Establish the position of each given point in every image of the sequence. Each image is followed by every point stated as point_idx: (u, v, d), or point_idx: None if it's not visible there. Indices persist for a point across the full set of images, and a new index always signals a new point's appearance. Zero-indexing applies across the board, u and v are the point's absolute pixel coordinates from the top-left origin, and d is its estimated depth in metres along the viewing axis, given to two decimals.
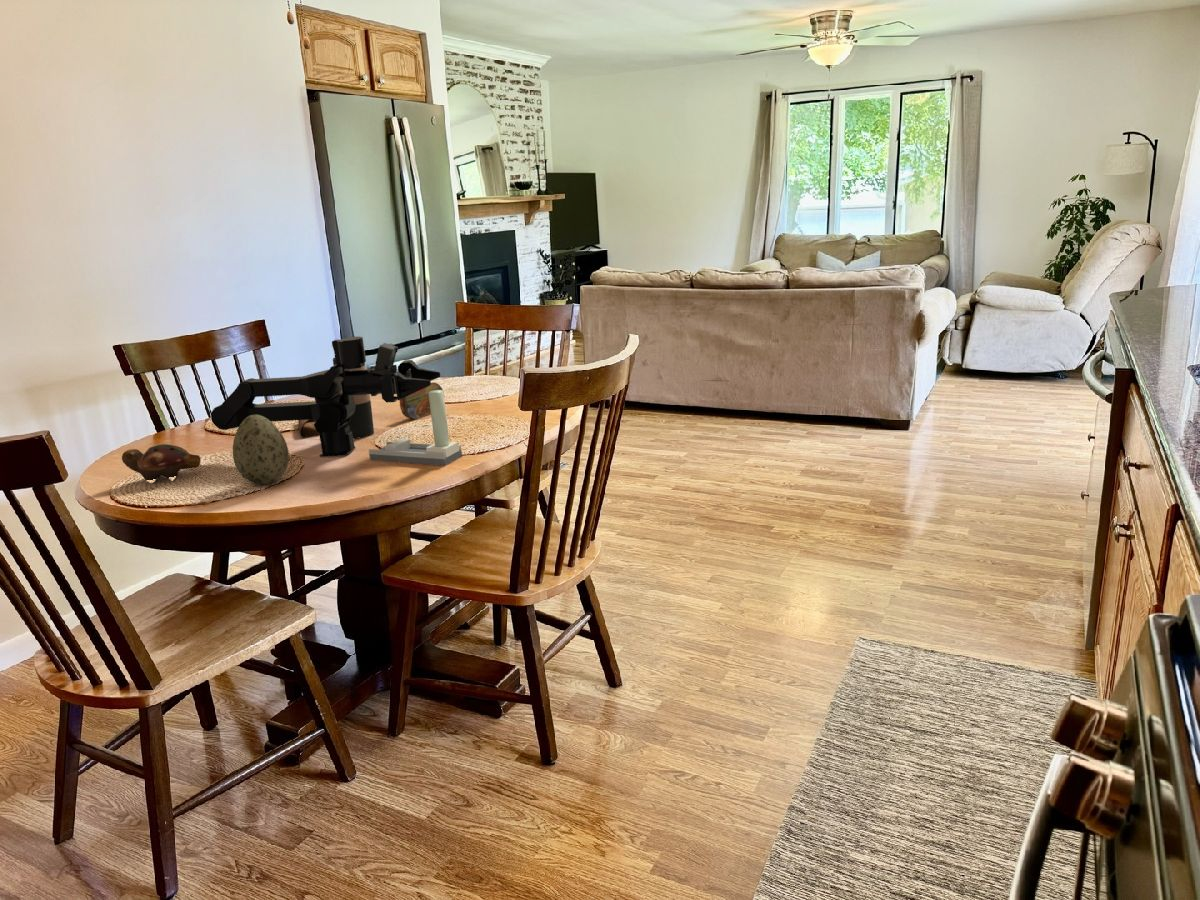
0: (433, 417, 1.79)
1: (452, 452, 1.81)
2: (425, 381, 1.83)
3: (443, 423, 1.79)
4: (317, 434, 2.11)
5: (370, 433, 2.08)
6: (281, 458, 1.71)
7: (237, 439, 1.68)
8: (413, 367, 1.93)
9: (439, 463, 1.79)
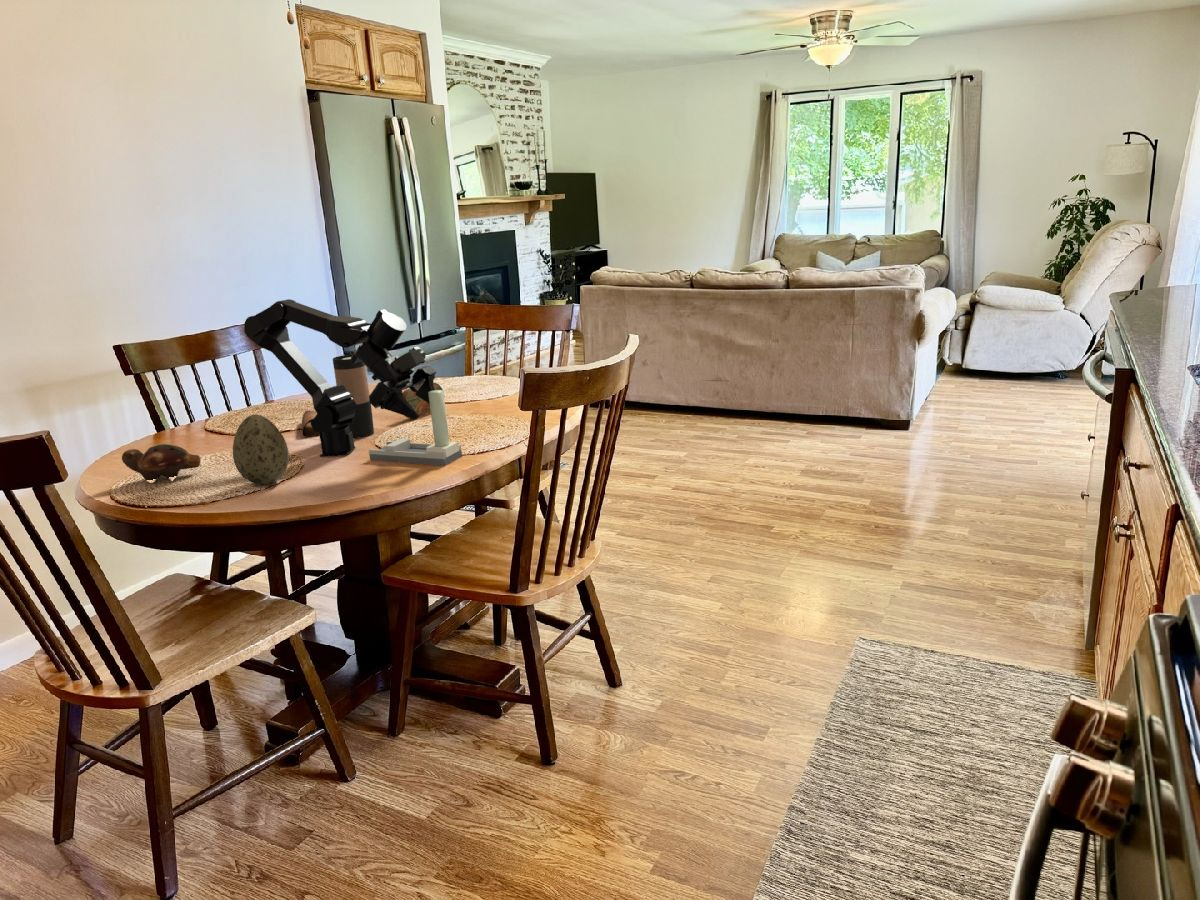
0: (433, 417, 1.79)
1: (452, 452, 1.81)
2: (414, 414, 1.76)
3: (443, 423, 1.79)
4: None
5: (370, 433, 2.08)
6: (281, 458, 1.71)
7: (237, 439, 1.68)
8: (427, 382, 1.85)
9: (439, 463, 1.79)
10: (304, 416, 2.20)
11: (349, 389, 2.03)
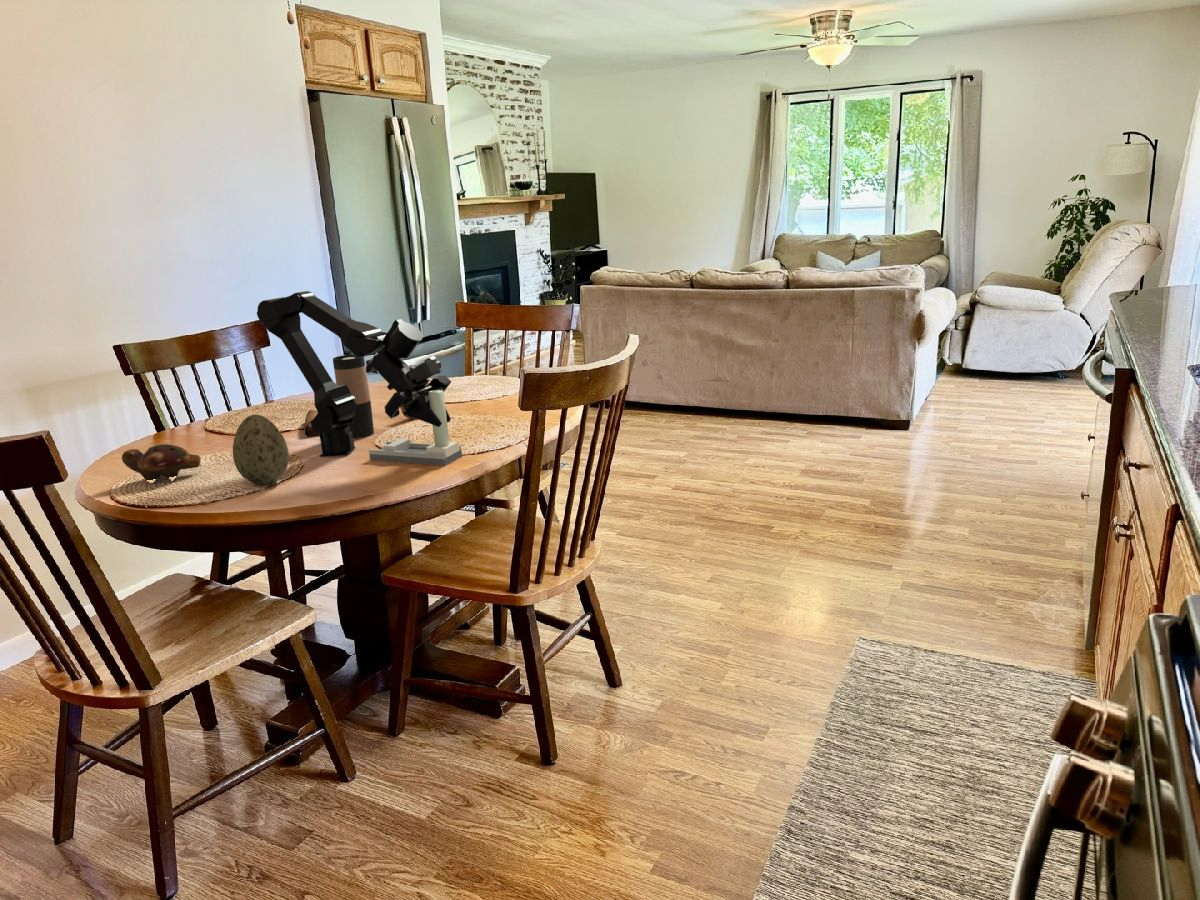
0: None
1: (452, 452, 1.81)
2: (437, 421, 1.78)
3: (443, 423, 1.79)
4: None
5: (370, 433, 2.08)
6: (281, 458, 1.71)
7: (237, 439, 1.68)
8: None
9: (439, 463, 1.79)
10: (307, 416, 2.20)
11: (349, 389, 2.03)
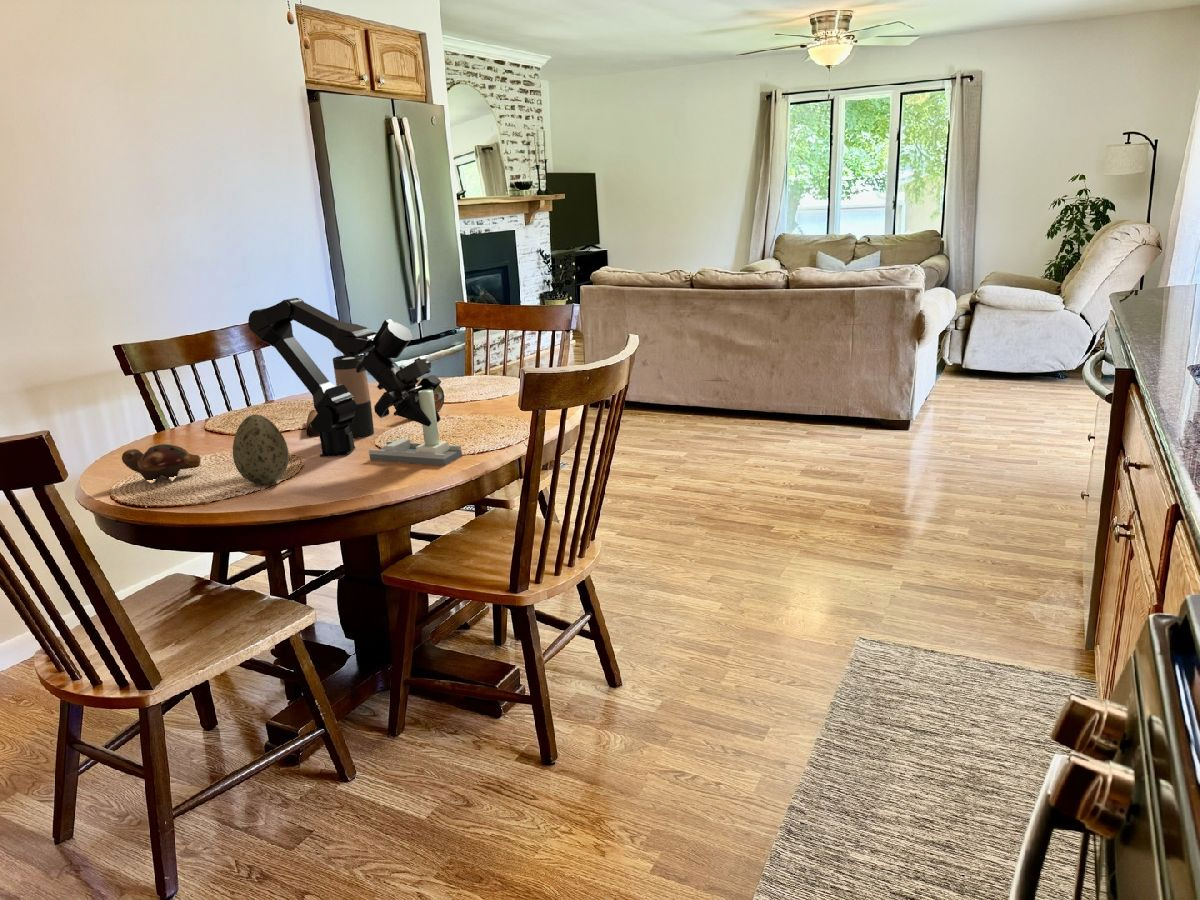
0: None
1: (442, 451, 1.82)
2: (426, 420, 1.79)
3: (432, 422, 1.80)
4: None
5: (370, 433, 2.08)
6: (281, 458, 1.71)
7: (237, 439, 1.68)
8: None
9: (439, 463, 1.79)
10: (309, 415, 2.21)
11: (349, 389, 2.03)
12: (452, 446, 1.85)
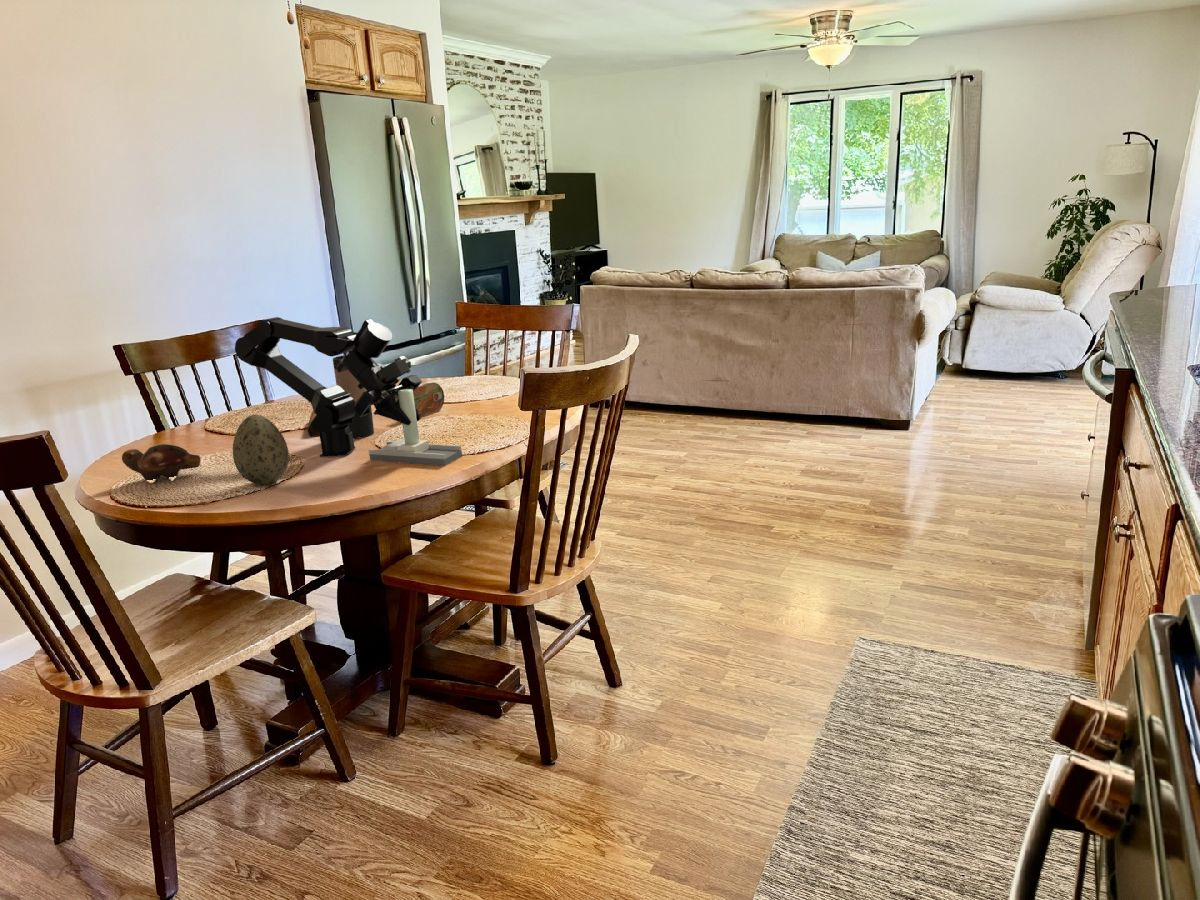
0: None
1: (422, 450, 1.85)
2: (406, 419, 1.81)
3: (412, 421, 1.82)
4: None
5: (370, 433, 2.08)
6: (281, 458, 1.71)
7: (237, 439, 1.68)
8: None
9: (439, 463, 1.79)
10: (311, 415, 2.21)
11: (349, 389, 2.03)
12: (452, 446, 1.85)
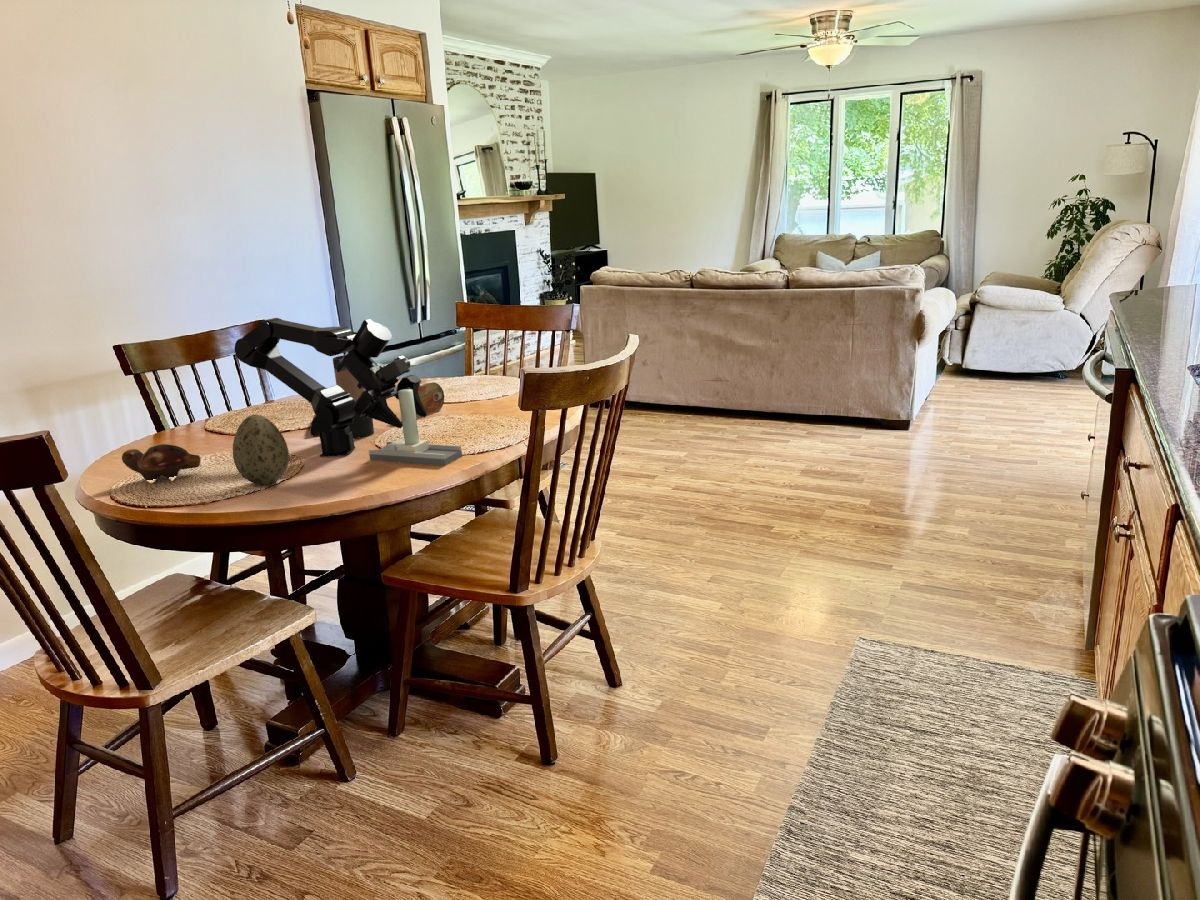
0: (402, 416, 1.82)
1: (422, 450, 1.85)
2: (398, 422, 1.79)
3: (412, 421, 1.82)
4: None
5: (370, 433, 2.08)
6: (281, 458, 1.71)
7: (237, 439, 1.68)
8: None
9: (439, 463, 1.79)
10: (315, 415, 2.21)
11: (349, 389, 2.03)
12: (452, 446, 1.85)
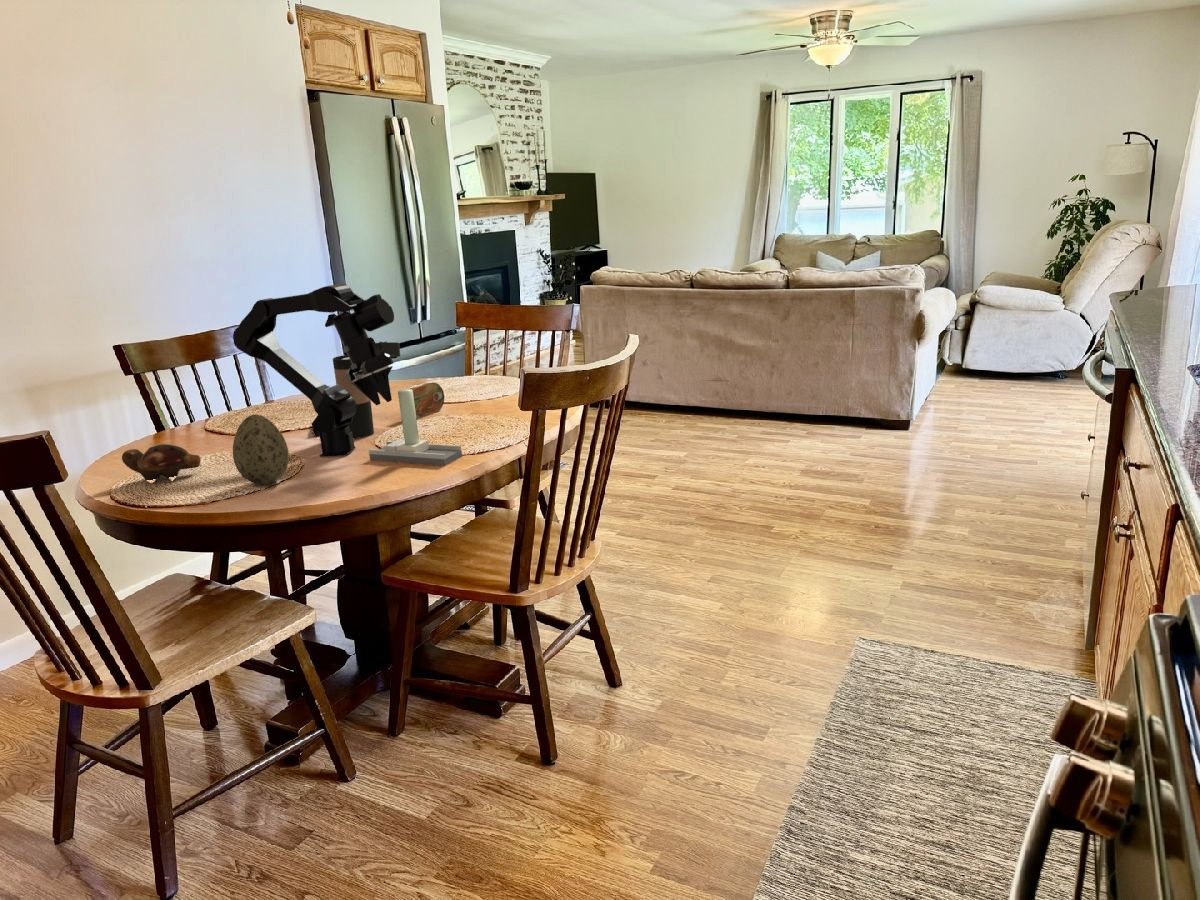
0: (402, 416, 1.82)
1: (422, 450, 1.85)
2: (390, 396, 1.83)
3: (412, 421, 1.82)
4: None
5: (370, 433, 2.08)
6: (281, 458, 1.71)
7: (237, 439, 1.68)
8: None
9: (439, 463, 1.79)
10: None
11: (349, 389, 2.03)
12: (452, 446, 1.85)
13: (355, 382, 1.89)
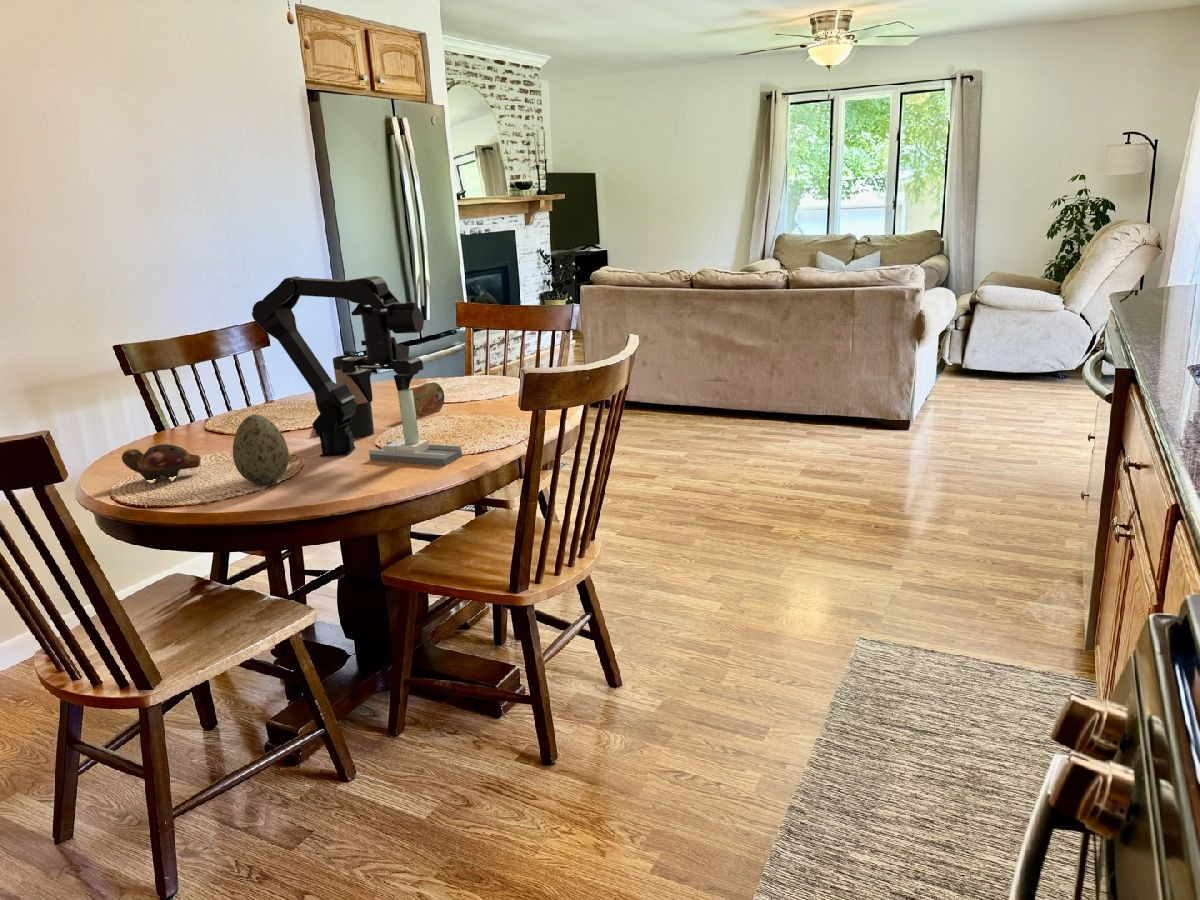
0: (402, 416, 1.82)
1: (422, 450, 1.85)
2: None
3: (412, 421, 1.82)
4: None
5: (370, 433, 2.08)
6: (281, 458, 1.71)
7: (237, 439, 1.68)
8: (370, 373, 1.90)
9: (439, 463, 1.79)
10: None
11: (349, 389, 2.03)
12: (452, 446, 1.85)
13: (357, 375, 1.86)
